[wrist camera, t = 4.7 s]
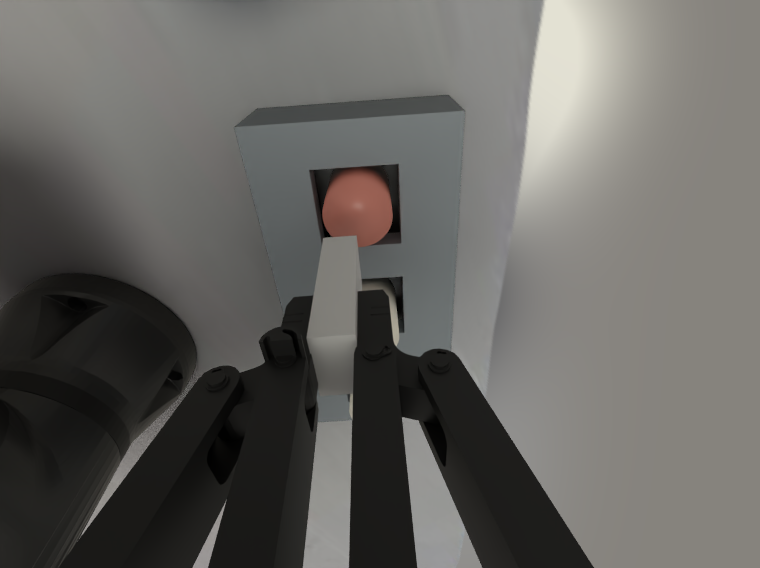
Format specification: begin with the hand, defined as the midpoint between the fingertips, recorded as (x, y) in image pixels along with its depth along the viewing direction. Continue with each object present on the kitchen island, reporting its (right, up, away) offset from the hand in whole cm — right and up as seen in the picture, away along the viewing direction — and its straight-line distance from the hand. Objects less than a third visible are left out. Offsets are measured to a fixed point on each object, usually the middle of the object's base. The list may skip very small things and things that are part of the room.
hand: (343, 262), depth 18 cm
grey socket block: (+1, 0, +13) cm, 13 cm away
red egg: (0, +6, +8) cm, 10 cm away
